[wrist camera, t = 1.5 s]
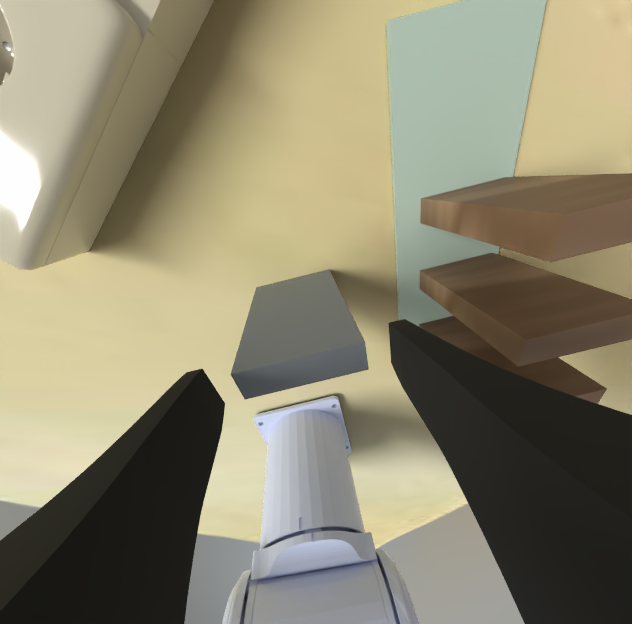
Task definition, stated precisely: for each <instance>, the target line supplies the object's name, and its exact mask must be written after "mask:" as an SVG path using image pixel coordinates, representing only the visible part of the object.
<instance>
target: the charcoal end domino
mask: <svg viewBox="0 0 632 624" xmlns="http://www.w3.org/2000/svg"><path fill="white" fill-rule="evenodd" d="M364 370H368V362H367V354H366V347H365V341H364V339H363V337H362V335H361V333H360V331H359V329H358V327H357V325H356V323H355V321H354V319H353V317H352V315H351V313H350V311H349V309H348V307H347V305H346V302H345V300H344V298H343V296H342V294H341V292H340V290H339V288H338V286H337V284H336V282H335V280H334V278H333V276H332V274H331V272H330V270H325V271H321V272H317V273H313V274H309V275H305V276H301V277H297V278H293V279H289V280H285V281H281V282H277V283H273V284H269V285H265V286H261V287H257V288H256V291H255V294H254V297H253V301H252V304H251V308H250V311H249V314H248V318H247V321H246V325H245V328H244V331H243V335H242V338H241V341H240V345H239V348H238V352H237V355H236V358H235V362H234V365H233V368H232V372H231V376H232V377H233V379H234V381H235V383H236V385H237V386H238V388H239V390H240V392H241V393H242V395H243V397H244V399H249V398H253V397H257V396H261V395H265V394H269V393H273V392H278V391H282V390H286V389H290V388H294V387H298V386H302V385H306V384H310V383H315V382H319V381H323V380H327V379H331V378H335V377H339V376H343V375H347V374H352V373H356V372H360V371H364Z"/></svg>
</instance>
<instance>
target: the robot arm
mask: <svg viewBox="0 0 632 624" xmlns="http://www.w3.org/2000/svg"><path fill="white" fill-rule="evenodd" d="M389 334H390V350H391V363H392V366H393V368H394V370H395V372H396V374H397V377H398V379H399V381H400V383H401V385H402V387H403V389H404V390H405V392H406V394H407V395H408V397H409V398H410V400H411V402H412V403H413V405H414V407H415V408H416V410H417V411H418V413H419V415H420V416H421V418H422V420H423V421H424V423H425V424H426V426H427V428H428V429H429V431H430V432H431V434H432V436H433V437H434V439H435V441H436V442H437V444H438V445H439V447H440V449H441V451H442V452H443V454H444V456H445V458H446V460H447V462H448V464H449V466H450V468H451V469H452V471H453V473H454V475H455V477H456V479H457V481H458V483H459V485H460V487H461V489H462V491H463V493H464V495H465V497H466V499H467V501H468V503H469V505H470V507H471V509H472V512H473V514H474V516H475V517H476V520H477V522H478V524H479V526H480V528H481V530H482V532H483V534H484V536H485V538H486V540H487V543H488V545H489V547H490V549H491V551H492V553H493V555H494V558H495V560H496V562H497V564H498V566H499V568H500V570H501V572H502V575H503V576H504V579H505V581H506V583H507V585H508V588H509V590H510V592H511V594H512V596H513V599H514V601H515V603H516V605H517V607H518V610H519V612H520V614H521V616H522V618H523V621H524V623H525V624H632V415H630V414H626V413H623V412H620V411H617V410H614V409H611V408H608V407H605V406H602V405H599V404H596V403H593V402H590V401H587V400H584V399H581V398H578V397H575V396H572V395H569V394H567V393H564V392H561V391H558V390H556V389H553V388H550V387H548V386H545V385H542V384H540V383H537V382H535V381H532V380H530V379H527V378H525V377H522V376H520V375H517V374H515V373H512V372H510V371H507V370H505V369H503V368H500V367H498V366H496V365H494V364H492V363H489V362H487V361H485V360H483V359H481V358H479V357H476V356H474V355H472V354H470V353H468V352H466V351H464V350H462V349H460V348H458V347H456V346H454V345H452V344H450V343H448V342H446V341H444V340H443V339H441V338H439V337H437V336H435V335H433V334H431V333H430V332H428V331H426V330H424V329H422V328H421V327H419V326H417V325H415V324H413V323H411V322H410V321H408V320H406V319H403V320H399V321H395V322H391V323H389ZM224 407H225V403H224V401H223V400H222V398H221V397H220V395H219V394H218V392H217V391H216V389H215V387H214V386H213V384H212V383H211V381H210V380H209V378H208V377H207V375H206V374H205V372H204V370H203V369H199V370H195V371H191V372H187V373H186V374H184V375H183V376H182V377H181V378H180V379H179V380H178V381H177V382H176V383H175V384H174V385H173V386H172V387H171V388H170V389H169V390H167V391H166V392H165V393H164V394H163V395H162V397H161V398H160V399H159V400H158V401H157V402H156V403H155V404H154V405H153V406H152V407H151V408H150V409H149V410H148V411H147V412H146V413H145V414H144V415H143V416H142V417H141V418H140V419H139V420H138V421H137V422H136V423H135V424H134V425H133V426H132V427H131V428H129V429H128V430H127V431H126V432H125V433H124V434H123V435H122V436H121V437H120V438H119V439H118V440H117V441H116V442H115V443H114V444H113V445H112V446H111V447H110V448H108V449H107V450H106V451H105V452H104V453H103V454H102V455H101V456H100V457H99V458H98V459H97V460H96V461H95V462H94V463H93V464H91V465H90V466H89V467H88V468H87V469H86V470H85V471H84V472H83V473H81V474H80V475H79V476H78V477H77V478H76V479H75V480H73V481H72V482H71V483H70V484H69V485H68V486H67V487H65V488H64V489H63V490H62V491H61V492H60V493H58V494H57V495H56V496H55V497H54V498H53V499H51V500H50V501H49V502H48V503H47V504H45V505H44V506H43V507H42V508H41V509H39V510H38V511H37V512H36V513H35V514H33V515H32V516H31V517H29V518H28V519H27V520H26V521H24V522H23V523H22V524H21V525H20V526H18V527H17V528H16V529H14V530H13V531H12V532H11V533H9V534H8V535H7V536H6V537H4V538H3V539H2V540H1V541H0V624H184V621H185V612H186V603H187V595H188V589H189V582H190V575H191V568H192V561H193V555H194V549H195V543H196V537H197V531H198V526H199V520H200V515H201V510H202V506H203V501H204V497H205V493H206V489H207V486H208V482H209V478H210V474H211V470H212V466H213V463H214V459H215V455H216V451H217V447H218V443H219V439H220V435H221V431H222V424H223V417H224ZM254 423H255V424H256V426H257V428H258V430H259V431H260V433H261V435H262V436H263V438H264V440H265V442H266V443H267V445H268V446H267V459H266V472H265V486H264V499H263V512H262V526H261V539H260V549H259V550H255V551H254V552H253V562H252V570H247V571H244V572H243V573H242V575H241V576H240V578H239V580H238V582H237V584H236V585H235V587H234V588H233V590H232V592H231V594H230V597H229V600H228V603H227V606H226V610H225V614H224V618H223V623H222V624H419V622H418V619H417V616H416V612H415V609H414V606H413V603H412V600H411V597H410V594H409V592H408V589H407V586H406V584H405V581H404V579H403V576H402V574H401V572H400V570H399V568H398V566H397V565H396V563H395V562H394V561H393V560H392V559H391V558H390V557H389V556H388V554H387V553H386V552H385V551H384V550H383V549H375V547H374V543H373V539H372V534H371V533H370V532H368V533H365V531H364V526H363V522H362V517H361V513H360V508H359V504H358V499H357V495H356V490H355V486H354V481H353V477H352V472H351V468H350V463H349V459H348V455H349V454H351V452H352V450H351V446H350V442H349V438H348V434H347V430H346V426H345V422H344V418H343V414H342V410H341V406H340V402H339V399H338V397H337V396H330V397H325V398H321V399H317V400H313V401H309V402H305V403H301V404H297V405H292V406H288V407H284V408H280V409H276V410H272V411H268V412H264V413H259V414H256V415H255V416H254Z"/></svg>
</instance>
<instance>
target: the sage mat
mask: <svg viewBox="0 0 632 624" xmlns="http://www.w3.org/2000/svg"><path fill="white" fill-rule="evenodd" d="M545 6H546V0H464V1H460V2H456V3H452V4H448V5H444V6H441V7H437V8H433V9H429V10H425V11H421V12H418V13H414V14H410V15H406V16H402V17H399V18H395V19H391V20H388V22H387V24H386V35H387V59H388V83H389V107H390V131H391V155H392V179H393V203H394V227H395V251H396V276H397V300H398V321H399V320H403V319H406V320H408V321H410V322H411V323H413V324H415V325H417V326H419V324H422V323H426V322H430V321H434V320H438V319H442V318H446V317H450V316H453V315H452V314H451V313H450V312H448V311H447V310H446V309H445V308H443V307H442V306H441V305H439V304H438V303H437V302H436V301H434V300H433V299H432V298H431V297H429V296H428V295H427V294H426V293H424V292H423V291H422V290H421V289H420V270H423V269H427V268H431V267H435V266H439V265H443V264H447V263H451V262H456V261H460V260H464V259H468V258H472V257H476V256H480V255H484V254H488V253H495V254H498V253H499V248H500V247H499V246H495V245H492V244H489V243H485V242H482V241H478V240H475V239H472V238H468V237H465V236H462V235H458V234H455V233H451V232H448V231H445V230H441V229H438V228H435V227H431V226H428V225H424V224H421V223H420V214H421V198H425V197H429V196H432V195H436V194H440V193H444V192H448V191H452V190H456V189H460V188H464V187H468V186H472V185H476V184H480V183H484V182H488V181H492V180H496V179H500V178H504V177H513V174H514V169H515V164H516V158H517V153H518V148H519V142H520V137H521V132H522V127H523V121H524V116H525V111H526V106H527V100H528V95H529V90H530V85H531V79H532V74H533V69H534V63H535V58H536V53H537V48H538V42H539V37H540V32H541V27H542V21H543V16H544V11H545Z"/></svg>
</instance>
